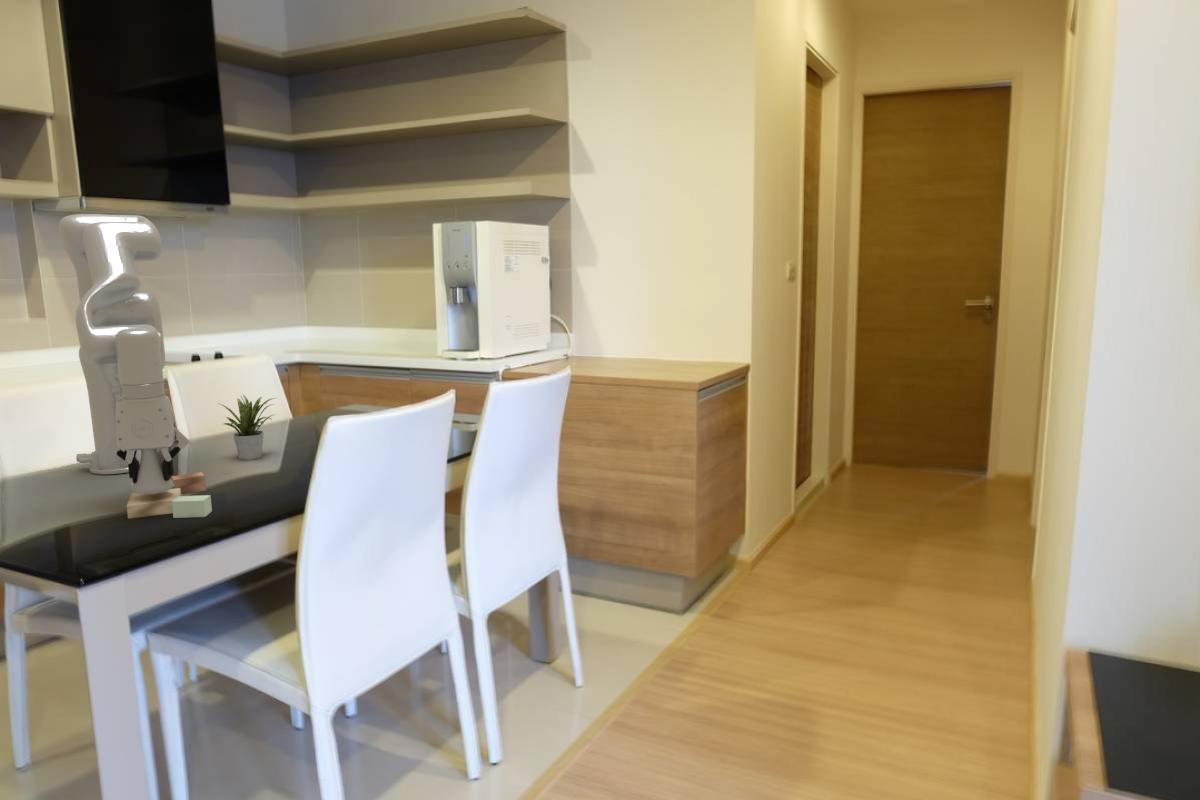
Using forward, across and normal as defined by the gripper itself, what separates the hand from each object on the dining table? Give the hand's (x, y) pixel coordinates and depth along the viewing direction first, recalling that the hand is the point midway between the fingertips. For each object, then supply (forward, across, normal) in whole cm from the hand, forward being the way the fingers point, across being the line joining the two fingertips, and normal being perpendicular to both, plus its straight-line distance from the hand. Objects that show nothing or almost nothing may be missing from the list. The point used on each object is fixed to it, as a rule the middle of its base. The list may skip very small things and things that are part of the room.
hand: (152, 479), depth 162 cm
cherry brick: (+6, +4, +12) cm, 14 cm away
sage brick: (+6, +8, -6) cm, 12 cm away
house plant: (+6, +14, +39) cm, 42 cm away
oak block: (+7, 0, 0) cm, 7 cm away
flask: (+3, 0, 0) cm, 3 cm away
